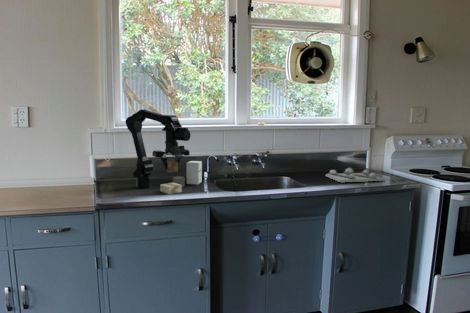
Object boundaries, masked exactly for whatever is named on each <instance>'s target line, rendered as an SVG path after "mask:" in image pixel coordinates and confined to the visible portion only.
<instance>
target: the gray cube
mask: <svg viewBox="0 0 470 313" xmlns="http://www.w3.org/2000/svg"><path fill="white" fill-rule="evenodd" d="M185 179H186V178H185V177H184V176H181V175H180V176H172V183H177V184H180V185H182V188H183V187H186V182H185V181H186V180H185Z"/></svg>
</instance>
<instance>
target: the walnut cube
mask: <svg viewBox="0 0 470 313" xmlns="http://www.w3.org/2000/svg"><path fill="white" fill-rule="evenodd" d="M178 166H179V164H178V162H175V160H171V161H170V160H167V170H166V169H165V168H164V171H165V172H167V173H178V172H179V170H178V168H179V167H178Z"/></svg>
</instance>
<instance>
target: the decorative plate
mask: <svg viewBox="0 0 470 313" xmlns="http://www.w3.org/2000/svg"><path fill="white" fill-rule="evenodd" d="M354 170H355V169H352V168H351V167H347V168H345V171H344V170H343V173H338V171H337V170H336V169H331V170H329V172H328V173H326V174H325V177H326V178H328V179H330V180H332V179H333V181H334V180H335V182H337V183H339V182H340V183H339V184H346V183H345V182H364V183H368V182H367V181H384V182H385V181H386V180H385V178H383V177H379V176H377V174H376V173H373V172H369V170H368V169H364V170H362V172H355V171H354Z"/></svg>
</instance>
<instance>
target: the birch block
mask: <svg viewBox="0 0 470 313" xmlns="http://www.w3.org/2000/svg"><path fill="white" fill-rule="evenodd" d="M159 186H160V192H161V193H164V194H167V195H172V194H177V193H182V191H183V187H182V185H180V184H177V183H173V182H168V183H162V184H160V185H159Z"/></svg>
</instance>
